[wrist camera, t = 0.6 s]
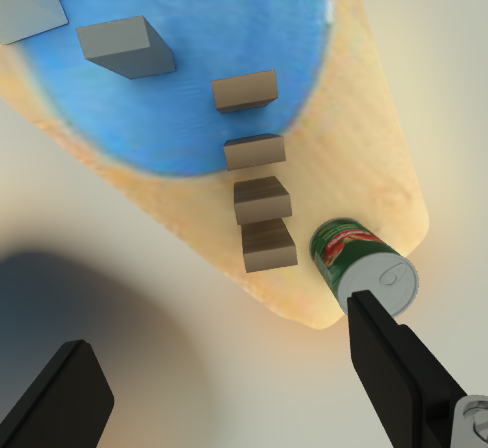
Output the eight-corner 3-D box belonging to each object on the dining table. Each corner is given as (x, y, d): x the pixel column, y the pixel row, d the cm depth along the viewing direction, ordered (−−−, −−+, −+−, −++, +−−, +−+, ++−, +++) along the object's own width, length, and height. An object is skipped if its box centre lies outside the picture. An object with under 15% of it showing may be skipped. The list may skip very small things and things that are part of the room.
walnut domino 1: (218, 94, 32) (210, 81, 22) (262, 86, 32) (274, 69, 22) (221, 113, 32) (216, 108, 23) (265, 105, 32) (278, 97, 23)
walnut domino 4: (241, 221, 37) (243, 254, 27) (279, 214, 36) (295, 245, 27) (243, 235, 37) (246, 273, 28) (281, 229, 37) (297, 264, 28)
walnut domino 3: (234, 183, 35) (233, 204, 25) (274, 176, 35) (289, 194, 25) (236, 198, 36) (237, 225, 26) (276, 191, 35) (291, 215, 26)
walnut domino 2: (226, 140, 33) (223, 146, 24) (269, 133, 33) (282, 136, 24) (229, 158, 34) (227, 170, 24) (271, 151, 34) (285, 160, 24)
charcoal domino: (125, 58, 30) (75, 28, 21) (171, 50, 30) (142, 15, 21) (130, 79, 31) (85, 58, 21) (176, 71, 31) (150, 46, 21)
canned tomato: (336, 282, 40) (373, 337, 29) (297, 248, 38) (320, 294, 28) (380, 242, 38) (435, 286, 28) (341, 205, 36) (384, 236, 26)
